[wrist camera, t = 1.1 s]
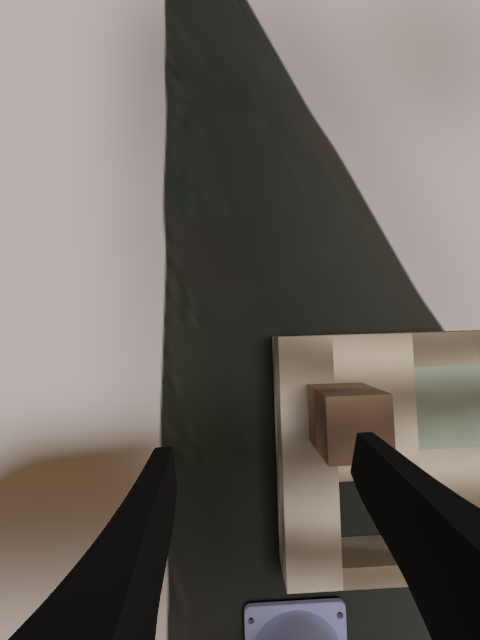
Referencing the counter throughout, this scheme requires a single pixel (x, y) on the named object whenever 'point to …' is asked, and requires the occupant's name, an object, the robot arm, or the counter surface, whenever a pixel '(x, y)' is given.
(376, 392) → the walnut block
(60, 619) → the robot arm
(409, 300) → the counter surface
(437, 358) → the trap deck
